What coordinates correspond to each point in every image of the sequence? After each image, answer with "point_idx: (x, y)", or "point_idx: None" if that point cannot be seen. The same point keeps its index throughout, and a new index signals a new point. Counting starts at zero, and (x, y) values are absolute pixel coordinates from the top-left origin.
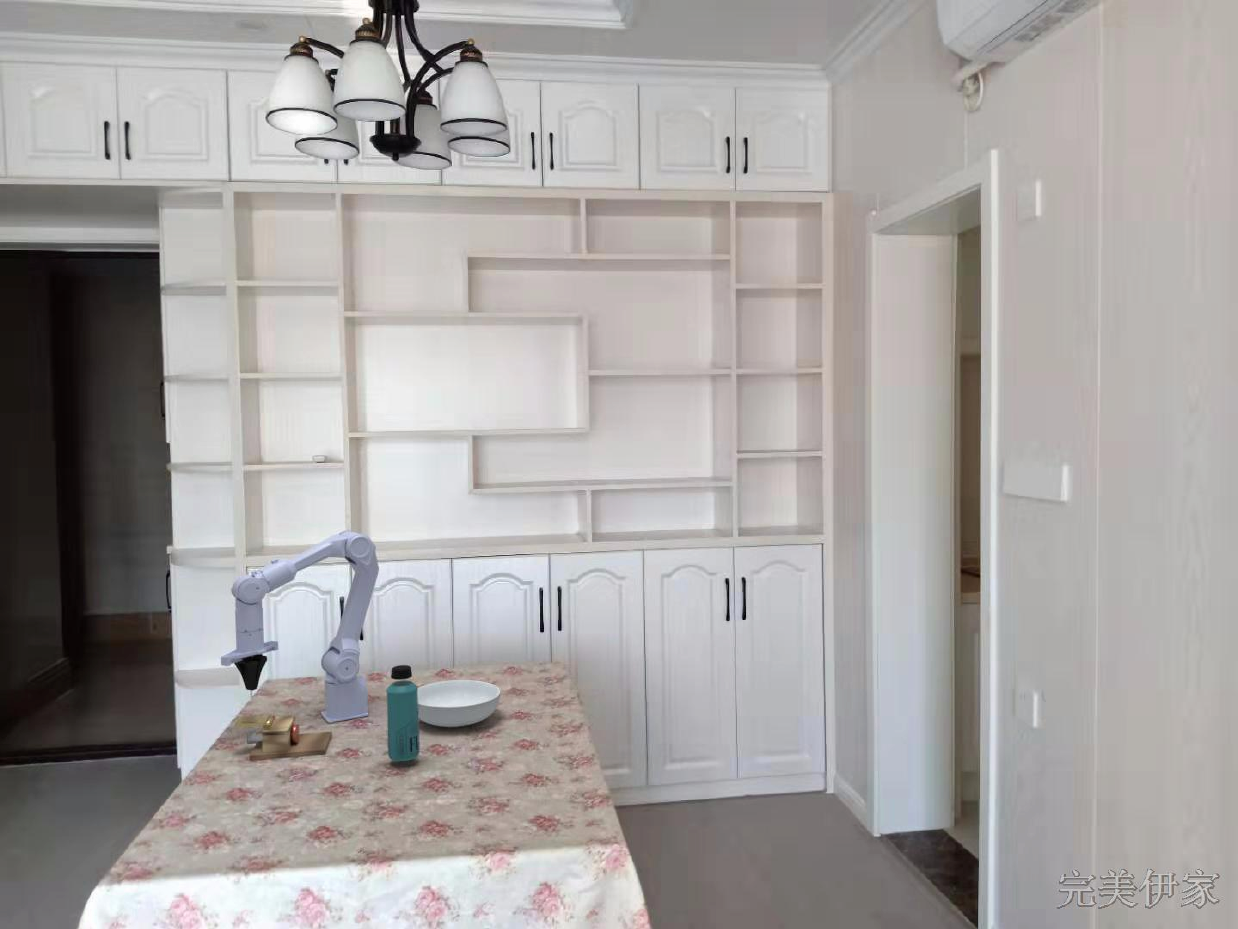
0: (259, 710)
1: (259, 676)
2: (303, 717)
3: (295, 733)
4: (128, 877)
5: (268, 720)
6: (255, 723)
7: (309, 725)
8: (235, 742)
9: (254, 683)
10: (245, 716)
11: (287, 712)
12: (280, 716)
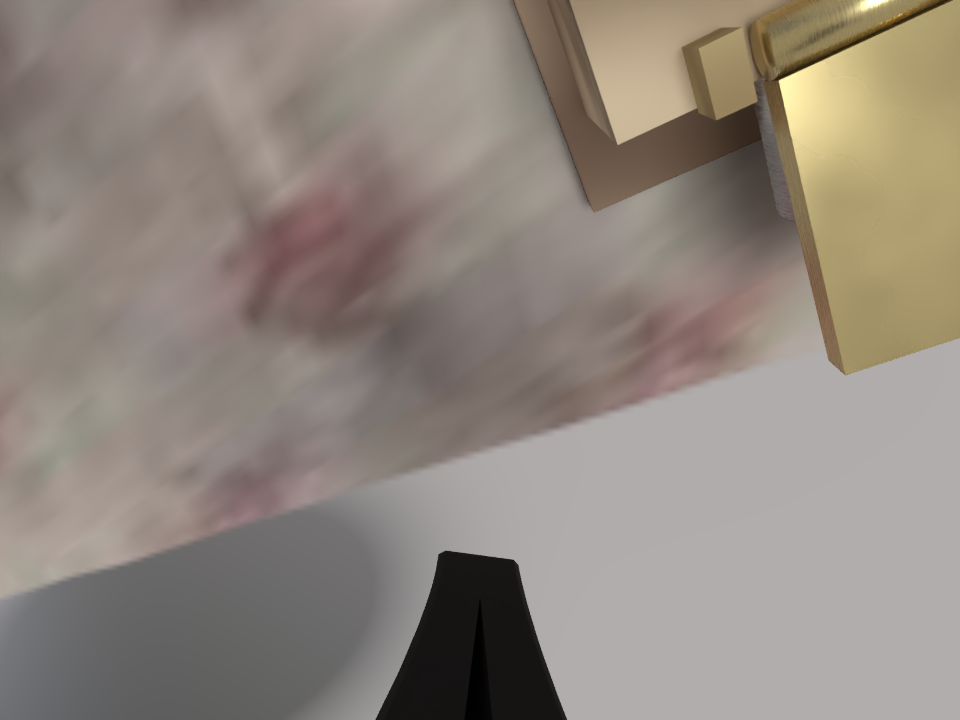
0: (142, 517)
1: (409, 700)
2: (74, 202)
3: None
4: None
5: None
6: None
7: (176, 29)
8: (621, 353)
9: (506, 630)
10: (839, 324)
11: (72, 366)
12: (590, 39)
